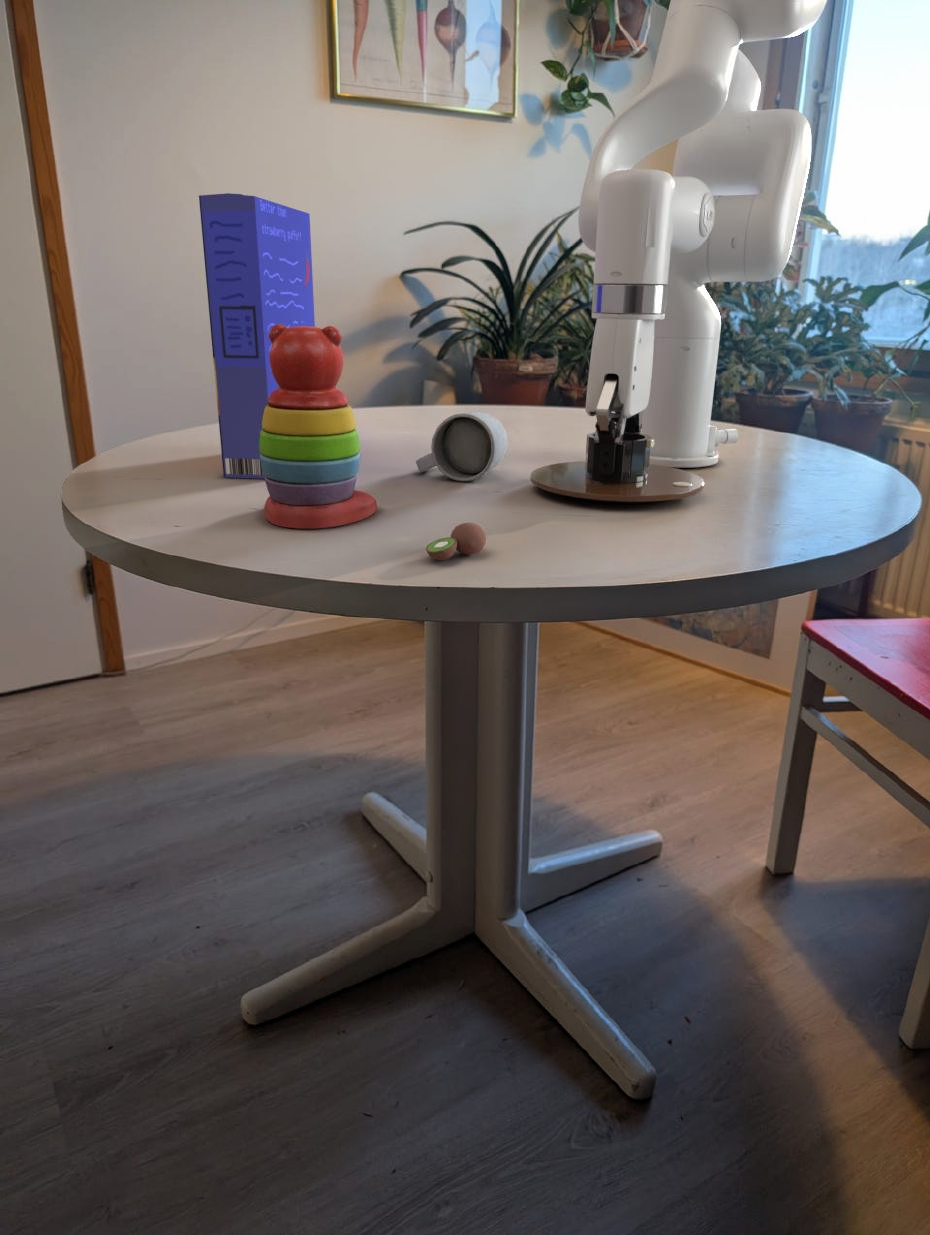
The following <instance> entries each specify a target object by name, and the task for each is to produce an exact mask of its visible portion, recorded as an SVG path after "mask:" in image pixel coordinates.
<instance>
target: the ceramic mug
mask: <svg viewBox="0 0 930 1235" xmlns="http://www.w3.org/2000/svg"><path fill="white" fill-rule="evenodd" d="M430 448H431V452H430V453H428V454H426V455H424V456H422V457H420V458H419V459H417V460H416V461H415V464H416V467H417V469H418V472H419V473H423V472H425V471H429V470H430V469H434V468H435V467H437V468H438V470H439V472H441V473H442V474H443V475H444V476H446V477H447V478H449V479H452V480H454V481H457V482H471V481H472V482H473V481H474V480H477V479H479V478H481V477H482V476H483V475H485V474H486V473H488V472H490V471H491V470H493V469H494V468H496V467H497V466H498V465H499V464H500V463H501V461H502V460H503V458H504V456H505V455H506V452H507V450H508V449H507V448H508V435H507V431H506V429H505V427H504V426H503V424H502V422H500V421H499V420H498V419H497V418H496V417H495V416H493V415H491V414H489V413H487V412H483V411H471V412H464V413H455V414H453V415H450V416H448V417H446V418H445V419H444V420H443V421H442V422H440V423H439V424H438V426H437V427H436V429H435V431H434V434H433V435H432V438H431V447H430Z"/></svg>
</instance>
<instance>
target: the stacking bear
mask: <svg viewBox="0 0 930 1235" xmlns="http://www.w3.org/2000/svg"><path fill="white" fill-rule="evenodd" d="M269 339H270V341H271V343H272V346H271V349H270V366H271V370H272V373H273V376H274V378H275V380H276V382H277V383H278V385H279V389H276V390H275V391H273V392H272V393H271V395H270V396H269V398H268V400H267V402H268V405H267V406H266V407H265V410H264V414H263V420H262V428H263V429H262V430H261V432H260V441H259V451H260V452H261V454H260V461H261V466H262V471H263V474H264V475H265V479H264V481H265V485H266V489H267V492H268V494H269V496H268V498H267V499H266V501H265V503H264V509H263V510H264V511H263V512H264V517H265V519H266V520H267V521H268V522H269V523H271V524H272V525H276V526H278V527H284V528H290V529H299V530H300V529H304V530H305V529H306V530H311V529H312V530H314V529H327V528H335V527H340V526H345V525H349V524H353V523H356V522H359V521H361V520H364V519H367V518H369V517H370V516H372V515H373V514H374V513H376V511H377V510H378V502H377V499H376V497H375V496H374V495H372V494H370V493H368V492H365V491H363V490H356V483H357V475H358V474H359V469H360V463H361V462H360V461H361V454H360V451H361V444H360V439H359V438H360V437H359V432H358V429H356V427H357V426H356V419H355V416H354V412H353V408H352V407H351V405H349V400H348V398H347V396H346V395H345V394H344V392H343V391H341V390H339V389H337V385H338V383H339V381H340V378H341V376H342V372H343V369H344V352H343V350H342V347H341V343H342V334H341V332H340V330H339V329H338V328H336V327H335V326H332V325H328V326H325V327H323V328H321V327H318V326H315V327H312V326H296V327H291V328H287V327H286V326H284V325H281V324H278V325H275V326H273V327H272V328H271V330H270V332H269Z"/></svg>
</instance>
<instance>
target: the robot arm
mask: <svg viewBox="0 0 930 1235" xmlns="http://www.w3.org/2000/svg"><path fill="white" fill-rule="evenodd" d="M827 2H828V0H670V2H669V6H668V10H667V13H666V17H665V22H664V26H663V30H662V34H661V37H660V38H661V39H660V43H659V47H658V51H657V55H656V59H655V62H654V66H653V71H652V76H651V79H650V82H649V83H648V85H647V86H646V87H645V88H644V89H643V90H641V91H640V92H639V93H638V94H637V95H636V96H635V97H634V98H633V99H631V101H629V103H628V104H626V105H625V106H624V107H623V109H622V110H621V111H620V112H619V113H618V114H617V115H616V116H615V117H614V118H613V120H612V121H611V122H610V124H608V126H607V127H606V128H605V129H604V131H603V132H602V134H601V135H600V137H599V139H598V140H597V142H596V144H595V146H594V148H593V151H592V153H591V156H590V160H589V162H588V163H589V164H588V167H587V170H586V171H587V172H586V174H585V175H586V176H585V179H584V183H583V187H582V192H581V195H580V201H579V208H578V219H577V220H578V221H577V222H578V230H579V235H580V239H581V240H582V243H583V244H584V246H585V247H586V248H587V249H588V250H590V251H592V252H593V253H594V268H593V269H594V270H593V286H592V287H593V288H592V301H591V302H592V304H591V319H596V322H595V326H594V331H593V336H592V344H591V351H590V358H589V359H590V360H589V367H588V368H589V369H588V377H587V388H586V396H585V397H586V398H585V413H586V414H587V416H589V417H595V416H596V422H595V424H594V427H595V431H594V432H595V437H594V454H593V469H592V478H593V479H594V480H598V481H608V482H620V481H621V480H622V478H623V465H624V452H625V444H622V440H623V434H624V432H634V433H641V434H645V435H649V436H650V437H651V439H654V446H653V447H651V450H650V461H649V464H653V465H660V466H666V467H671V468H676V469H691V468H694V469H695V468H703V467H710V466H714V465H716V464H717V463H718V462H719V457H720V454H719V452H718V451H716V450H715V448H716V447H717V446H719V444H722V445H729V444H736V443H737V442H738V441H739V437H740V435H739V431H738V430H737V429H736V428H727V429H725V428H724V429H721V430H720V429H718V428H717V425H712V424H711V420H712V410H713V402H714V393H715V392H714V391H715V383H716V374H717V366H718V357H719V348H720V340H721V330H722V322H721V321H722V320H721V315H720V312H719V309H718V307H717V306H716V304H715V302H714V301H713V299H712V298H711V295H710V294H709V292H708V291H707V289H706V287H705V284H707V283H708V284H709V283H717V282H718V283H758V282H761V283H763V282H768V281H771V280H774V279H775V278H777V277H778V276H780V275H781V274H782V272H783V271H784V270H785V268H786V266H787V264H788V261H789V258H790V255H791V252H792V249H793V248H792V247H793V244H794V240H795V235H796V230H797V225H798V221H799V217H800V213H801V208H802V203H803V199H804V195H805V194H804V193H805V188H806V183H807V179H808V174H809V169H810V165H811V164H810V162H811V156H812V132H811V126H810V123H809V121H808V118H807V117H806V116H805V115H804V114H803V113H802V112H800V111H799V110H796V109H792V108H773V109H758V105H759V101H760V96H761V91H762V85H761V84H762V83H761V80H760V77H759V74H758V72H757V71H756V69H755V67H754V65H753V64H752V63H751V61H750V60H749V58H748V57H747V56H746V55H745V54H744V53H743V52H742V51H741V49H739V48H740V45H741V44H744V43H751V42H760V41H769V40H770V41H771V40H779V39H786V38H791V37H795V36H798V35H800V34H802V33H803V32H805V31H807V30H808V29H810V28H812V27H813V26H814V25H815V24H816V22H817V21H818V20H819V18H820V17H821V15H822V13H823V12H824V9H825V7H826V4H827ZM676 141H677V145H676V149H675V155H674V160H673V166H672V174H671V173H669V172H667V171H664V170H661V169H652V168H634V167H635V165H637V164H638V163H639V162H641V161H642V160H643V159H644V158H645V157H647V156H649V155H651V153H653V152H655V151H657V150H659V149H661V148H662V147H665V146H667V145H669V144H671V143H673V142H676Z"/></svg>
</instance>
